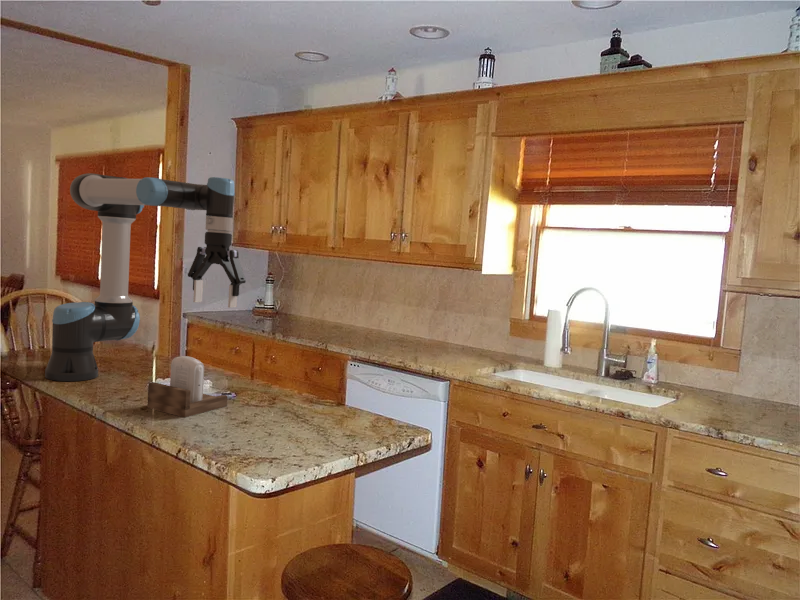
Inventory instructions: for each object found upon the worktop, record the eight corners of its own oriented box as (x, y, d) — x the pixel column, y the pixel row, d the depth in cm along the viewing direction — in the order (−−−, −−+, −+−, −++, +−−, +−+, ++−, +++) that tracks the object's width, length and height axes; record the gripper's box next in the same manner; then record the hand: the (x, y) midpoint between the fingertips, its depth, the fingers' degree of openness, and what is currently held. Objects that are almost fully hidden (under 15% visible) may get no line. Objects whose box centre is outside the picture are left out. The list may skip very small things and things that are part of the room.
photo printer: (204, 402, 180) (207, 358, 179) (193, 405, 176) (195, 360, 175) (179, 395, 185) (181, 353, 184) (166, 398, 181) (168, 354, 180)
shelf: (147, 407, 177) (148, 382, 177) (190, 397, 192) (191, 374, 191) (185, 417, 171) (186, 391, 171) (226, 406, 185) (228, 382, 185)
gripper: (177, 228, 190) (174, 300, 192) (242, 234, 178) (238, 310, 180) (196, 229, 197) (193, 299, 198) (260, 235, 185) (256, 308, 187)
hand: (214, 304), depth 189 cm, fingers open, 13 cm apart
